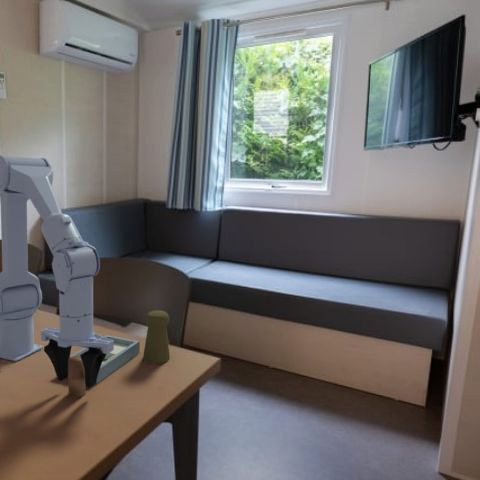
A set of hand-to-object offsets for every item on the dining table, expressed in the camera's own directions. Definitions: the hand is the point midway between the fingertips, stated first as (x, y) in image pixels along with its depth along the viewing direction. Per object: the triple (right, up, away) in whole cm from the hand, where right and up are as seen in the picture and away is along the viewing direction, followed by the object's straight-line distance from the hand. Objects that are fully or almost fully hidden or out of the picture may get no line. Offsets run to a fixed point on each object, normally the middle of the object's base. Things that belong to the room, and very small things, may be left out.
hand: (77, 382), depth 78 cm
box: (0, 0, +13) cm, 13 cm away
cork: (+11, -1, +17) cm, 21 cm away
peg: (0, -2, 0) cm, 2 cm away
